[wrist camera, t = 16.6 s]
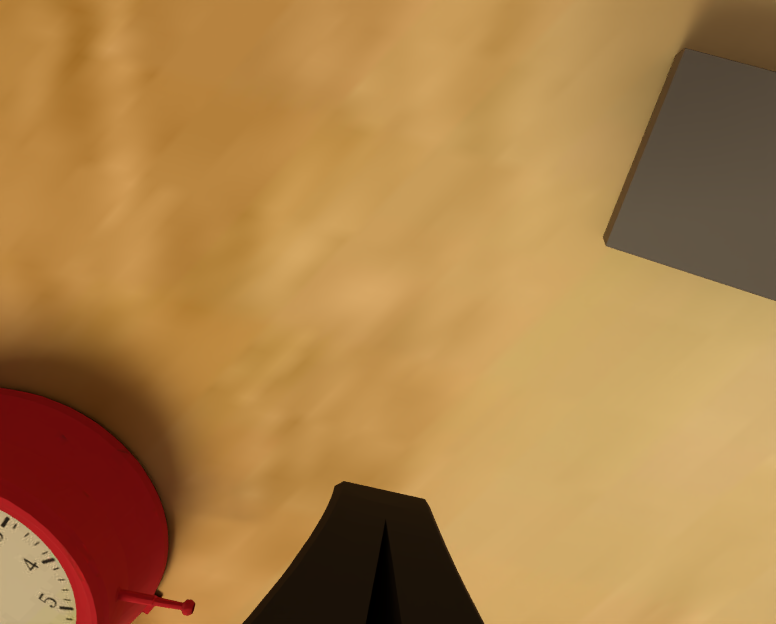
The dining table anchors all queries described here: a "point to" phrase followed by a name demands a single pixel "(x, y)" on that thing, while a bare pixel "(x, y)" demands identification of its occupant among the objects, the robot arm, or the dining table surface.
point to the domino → (706, 176)
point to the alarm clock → (74, 520)
